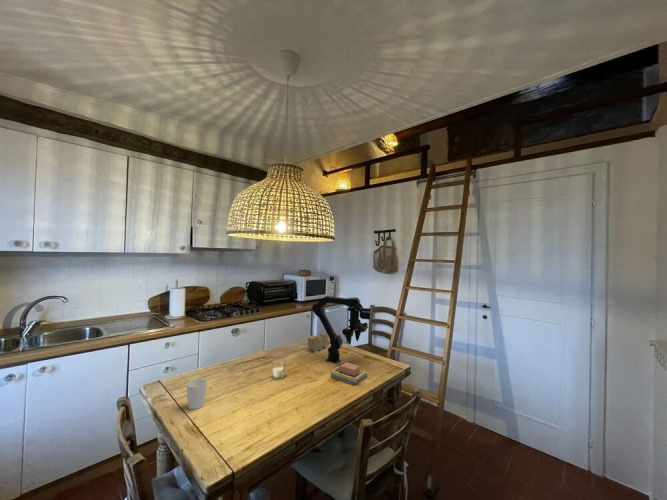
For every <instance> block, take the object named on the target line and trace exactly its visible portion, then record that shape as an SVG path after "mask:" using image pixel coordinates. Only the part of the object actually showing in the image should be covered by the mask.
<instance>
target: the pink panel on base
mask: <svg viewBox="0 0 667 500" xmlns="http://www.w3.org/2000/svg"><path fill="white" fill-rule="evenodd" d="M338 366H339V372H340V373H341V374H342V373H345V374H348V375H350V376H351V377H353V376H356V375H357V374H359V373H360V370H361V369H360V368H361V366H359V365H356V364H353V363H350V362H347V360H343V361H341V362H339V363H338Z"/></svg>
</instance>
